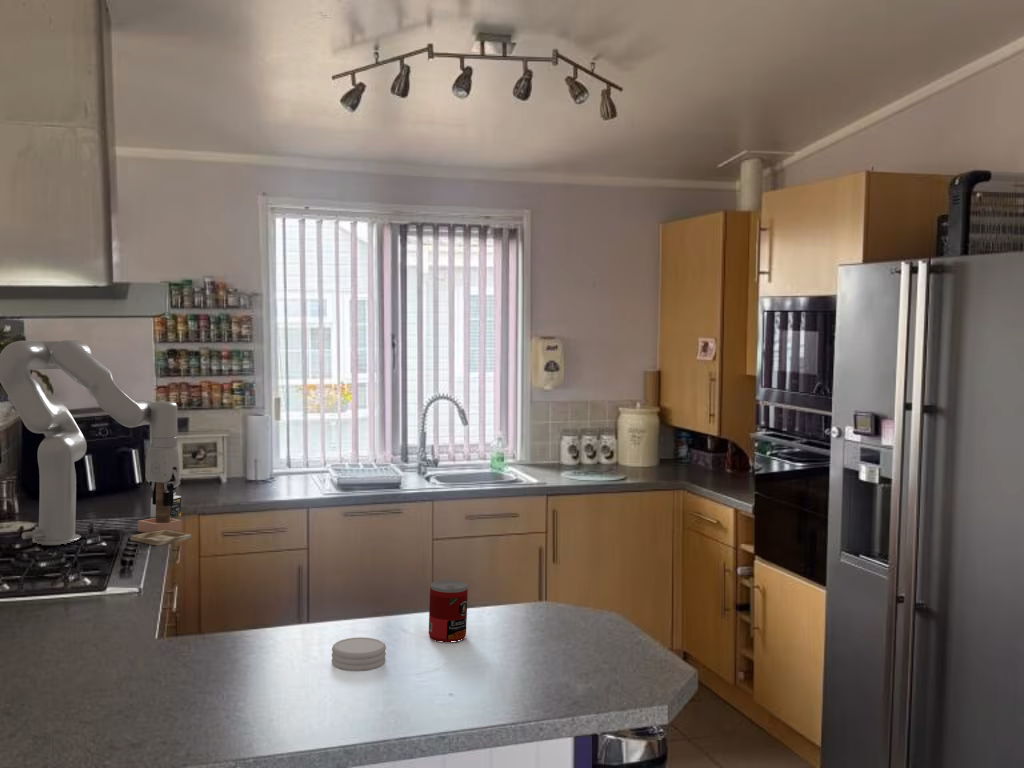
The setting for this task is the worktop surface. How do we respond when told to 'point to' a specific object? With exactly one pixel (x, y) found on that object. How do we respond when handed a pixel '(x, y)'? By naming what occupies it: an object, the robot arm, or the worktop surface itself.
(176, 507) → the medicine bottle
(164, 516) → the dowel
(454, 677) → the worktop surface
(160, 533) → the tray
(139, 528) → the pink square box
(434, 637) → the canned food
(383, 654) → the coaster
